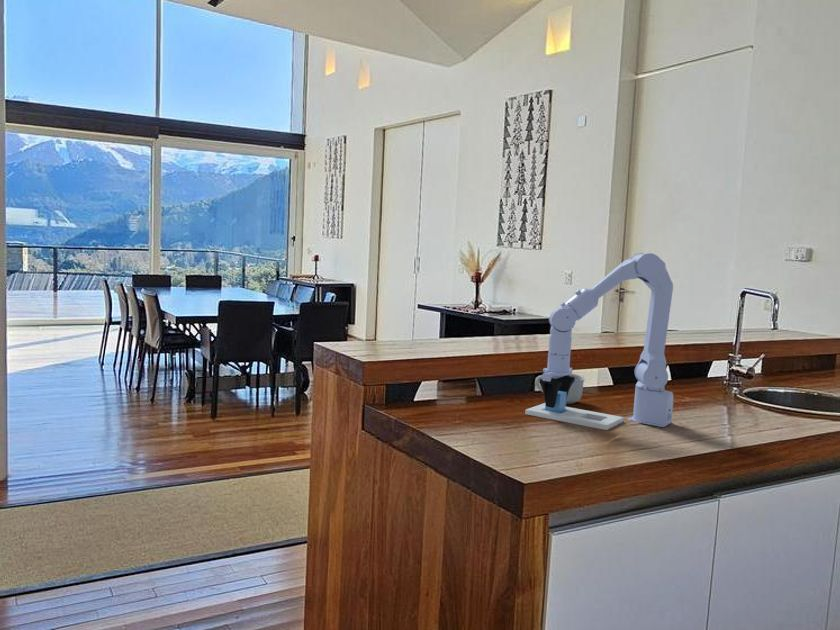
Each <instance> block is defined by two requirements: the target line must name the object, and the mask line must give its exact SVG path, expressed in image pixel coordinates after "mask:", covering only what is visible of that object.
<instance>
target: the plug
mask: <svg viewBox="0 0 840 630" xmlns="http://www.w3.org/2000/svg"><path fill="white" fill-rule="evenodd" d="M566 395H567V392H563V391H558V394H557V398H556V403H555V407H554V408H551V407H546V404H545V411H551V412H556V413H563V412H565V408H566V407H567V404H566Z"/></svg>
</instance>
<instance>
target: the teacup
mask: <svg viewBox="0 0 840 630" xmlns="http://www.w3.org/2000/svg"><path fill="white" fill-rule="evenodd" d="M569 376H571V377H575V381H574V382H573V384H572V385H571V387H570V390H569V392H568V395H567V399H566V405H570V404H572V405H573V404H576V403H577V402H579V401H580V400H581V399H582V396H583V389H584V381H585V378H584V376H582V375H579V374H576V373H572V375H569ZM542 378H543V374H541V375H538V376H536V378H535V381H534V385H535V386H536V388H537V389H538V390H539V391H540V392H542V393H543V389H542V387H541V385H540V383H539V380H540V379H542Z"/></svg>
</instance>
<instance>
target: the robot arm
mask: <svg viewBox="0 0 840 630" xmlns="http://www.w3.org/2000/svg"><path fill="white" fill-rule="evenodd" d="M635 279H639V280H640V281H643V283H644V284H645V285H646V286H647V287H648V288H649V289H650V290H651V293H650V298H649V299H650V300H649V308H648V314H647V316H648V317H647V322H646V329H645V337H644V338H645V339H644V345H643V350H642V352H641V354H640V355H639V360H638V363H637V364H636V366H635V368H634V376H635V379H636V380H637V382H636V384H635V388H634V389H635V391H634V402H633V413H632V416H631V417H629V418H627V421H631V422H637V423H640V424H645V425H649V426H653V427H654V426H655V427H660V428H665V427H667V426H668V425H670V424H672V423H673V420H672V419H673V411H674V410H673V409H674V393H673V392H672V391H669V390H666V389H665V388H666V387H665V386H666V385H667V384H668V381H669V374H668V371H667V359H666V356H665V351H666V342H667V334H668V326H669V320H670V311H671V307H672V306H671V305H672V299H673V298H672V297H673V291H674V284H673V281H672V279H671V277H670V275H669V271H668V270H667V265H666V263H665V262H664V261H663V260H662V259H661V257H659V256H658V255H657V254H654V253H648V252H647V253H643V252H638V253H635V254H632V256H631V257H630V258H628V259H625V260H624V261H622V262H621V263H619V265H617V266H616V267H614V269H613V270H611V271H610V272H609V273H608V274H607V275H606V276H604V277H603V278H602V279H601V280H599V281H598V282H597V283H596V284H595V285H594V286H592V287H591V288H582V289H577V290H576V291H575V292H574V295H572V297H571V298H570V299H567V301H566V302H564V301H563V302H561V303H560V306H561V307H557V308H555V309H553V310H552V311H551V313H550V315H549V317H548V322H549V325H550V329H549V339H548V352H547V367H545V368H543V369H542V372H543V373H542V375H543V378H542V379H540V380H539V386H540V387H541V388H542V389H543V392H542V393H543V397H544V403H545V404H546V407H551V408H554V407H555V403H556V398H557V394H558V391H563V392H567V395H568V392H569V390H570V387H571V385H572V384H573V382H574V381H575V377H571V376H569V375H572V374H573V367H570V365H571V353H572V352H571V351H572V338H573V337H572V330H573V328H574V327H575V325H576V322H577V321H580V320H581V319H582V318H584V317H585V316H586V315H588V314H589V313H590V312H591V311H592V310H594V309H595V308H596V307H598V305H599V300H600V298H601V297H602V296H604V295H605V294H607V293H609V292H610V291H611V290H613V289H614V288H615V287H617V286H618V285H619V284H621V283H622V282H624V281H627V280H635ZM567 395H566V399H567Z"/></svg>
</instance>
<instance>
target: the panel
mask: <svg viewBox="0 0 840 630" xmlns="http://www.w3.org/2000/svg"><path fill="white" fill-rule="evenodd" d="M524 412H525V413H524V414H525V415H527V416H531V417H536V418H537V417H538V418H541V419H546V420H552V421H559V422H563V423H567V424H573V425H576V426H577V425H578V426H583V427H588V428H593V429H598V430H603V431H608V430H610V429H613V428H614V427H616V426H618V425H620V424H622V423H624V419H625V417H624V416H619V415H615V414H608V413H603V412H597V411H593V410H592V411H591V410H585V409H581V408H576V407H570V406H566V408H565V412H563V413H556V412H551V411H545V402H543V403H541V404H538V405H535V406H533V407H529V408H526V409H525V411H524Z"/></svg>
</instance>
